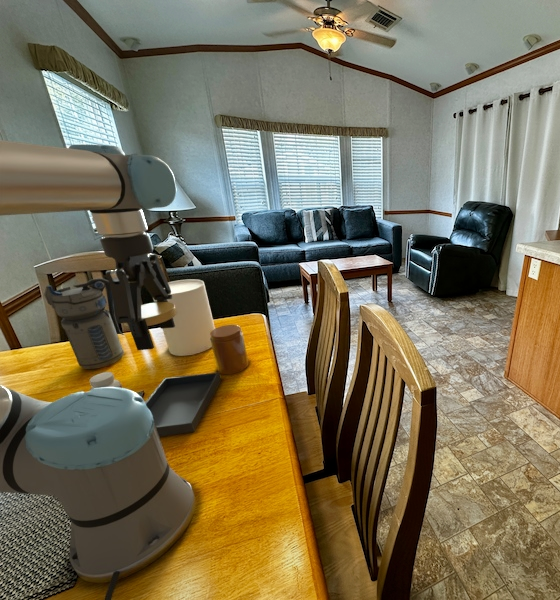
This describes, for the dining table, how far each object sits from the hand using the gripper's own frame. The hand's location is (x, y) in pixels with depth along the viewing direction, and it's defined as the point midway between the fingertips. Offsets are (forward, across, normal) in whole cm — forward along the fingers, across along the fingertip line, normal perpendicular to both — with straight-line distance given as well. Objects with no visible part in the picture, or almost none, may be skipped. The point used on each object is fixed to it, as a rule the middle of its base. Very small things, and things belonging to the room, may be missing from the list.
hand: (157, 337), depth 71 cm
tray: (+19, 0, 0) cm, 19 cm away
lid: (-6, 0, 0) cm, 6 cm away
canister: (+19, -32, -8) cm, 38 cm away
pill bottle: (+19, -1, -14) cm, 23 cm away
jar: (+19, -16, +8) cm, 26 cm away
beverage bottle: (+19, -27, -30) cm, 44 cm away
